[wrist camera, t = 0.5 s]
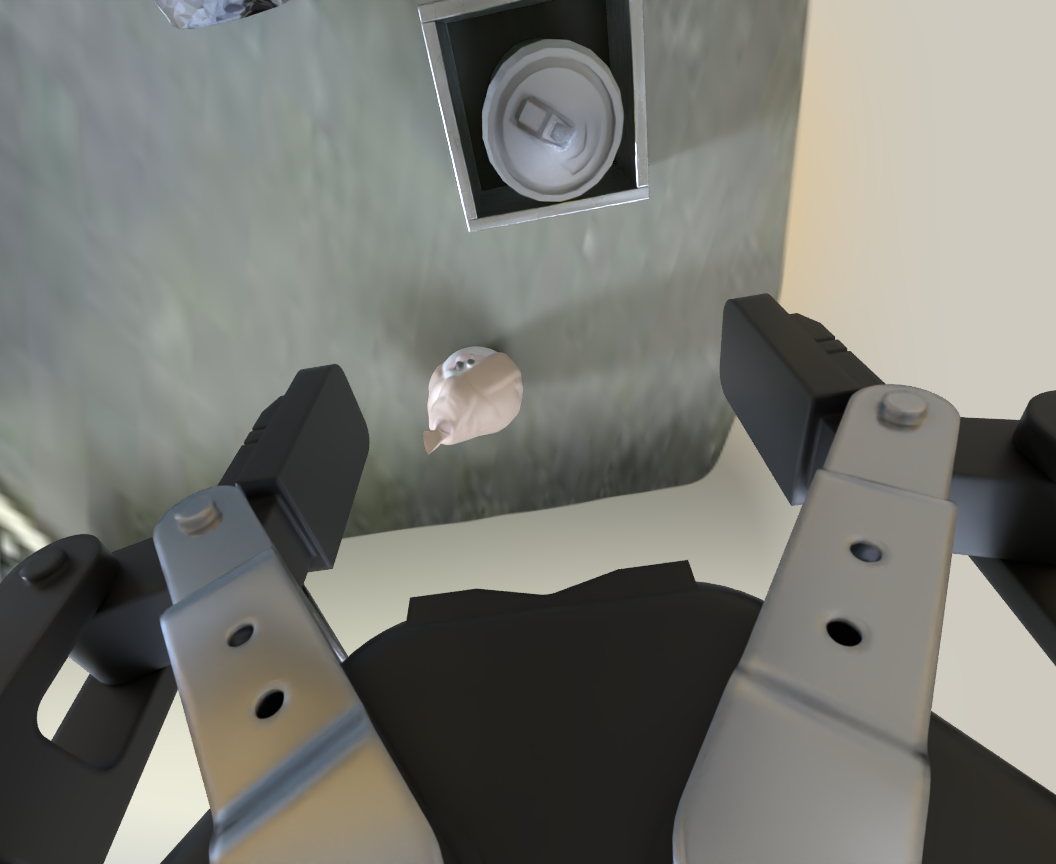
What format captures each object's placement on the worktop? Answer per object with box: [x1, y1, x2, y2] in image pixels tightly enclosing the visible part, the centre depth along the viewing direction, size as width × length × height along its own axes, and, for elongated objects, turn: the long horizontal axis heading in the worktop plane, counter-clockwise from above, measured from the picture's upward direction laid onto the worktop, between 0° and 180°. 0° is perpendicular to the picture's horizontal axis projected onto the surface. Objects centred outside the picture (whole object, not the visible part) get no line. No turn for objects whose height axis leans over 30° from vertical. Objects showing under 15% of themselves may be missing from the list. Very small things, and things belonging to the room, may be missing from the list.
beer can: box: [482, 38, 624, 202], centre depth 24 cm, size 5×5×12 cm
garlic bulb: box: [422, 346, 523, 455], centre depth 36 cm, size 7×6×8 cm
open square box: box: [417, 0, 649, 232], centre depth 27 cm, size 9×9×6 cm
